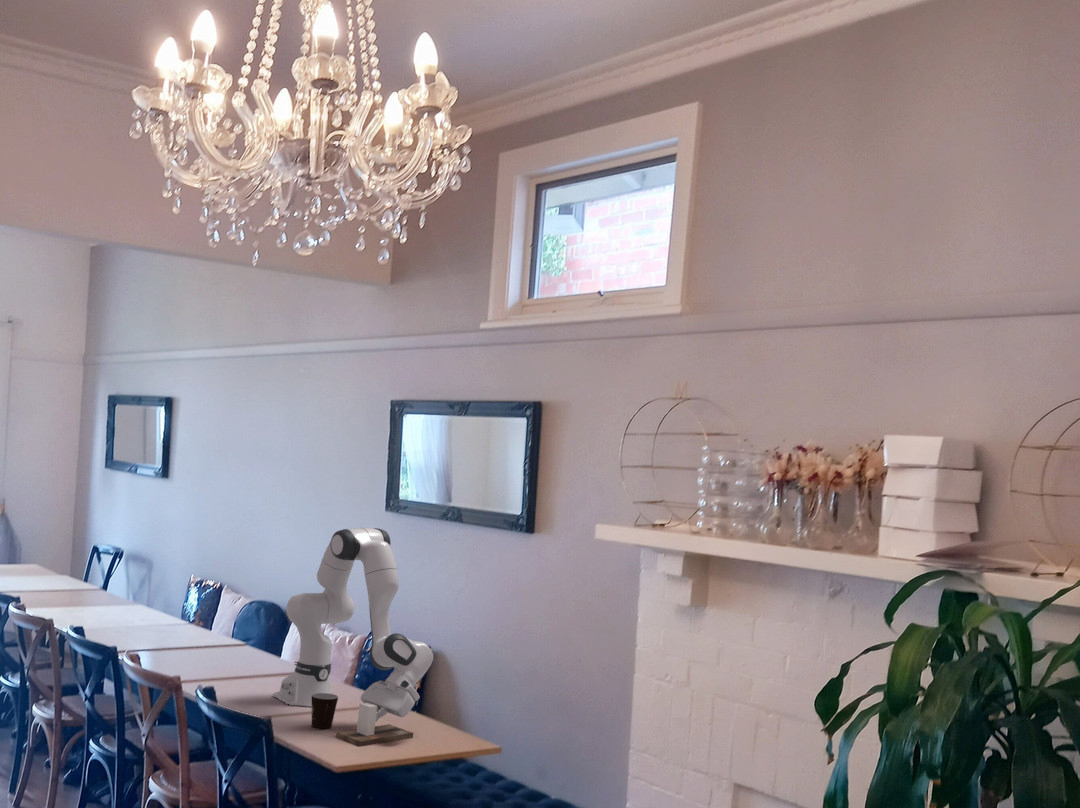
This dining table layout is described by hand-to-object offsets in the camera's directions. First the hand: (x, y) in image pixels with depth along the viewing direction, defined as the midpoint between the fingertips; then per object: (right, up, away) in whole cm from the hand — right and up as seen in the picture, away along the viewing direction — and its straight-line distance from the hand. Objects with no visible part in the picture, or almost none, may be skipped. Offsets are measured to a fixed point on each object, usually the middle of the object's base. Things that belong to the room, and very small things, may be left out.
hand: (371, 719), depth 324 cm
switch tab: (-2, -4, -2) cm, 5 cm away
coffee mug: (-18, -5, +6) cm, 19 cm away
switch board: (+1, -6, +1) cm, 6 cm away
